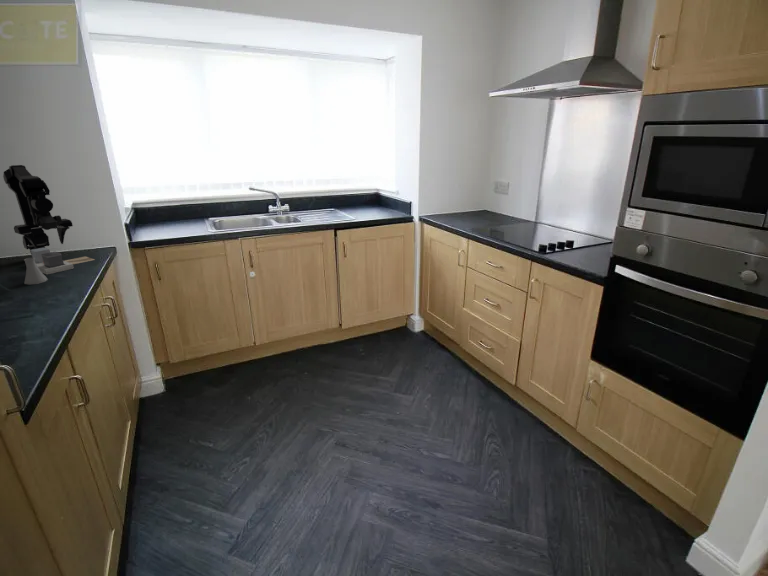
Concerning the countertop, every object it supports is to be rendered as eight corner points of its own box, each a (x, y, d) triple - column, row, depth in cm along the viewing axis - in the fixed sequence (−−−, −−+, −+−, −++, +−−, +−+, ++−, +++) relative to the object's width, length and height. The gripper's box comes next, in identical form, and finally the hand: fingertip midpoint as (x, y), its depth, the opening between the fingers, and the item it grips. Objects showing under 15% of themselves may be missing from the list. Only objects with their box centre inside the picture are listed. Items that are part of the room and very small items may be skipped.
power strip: (22, 264, 189) (20, 257, 188) (48, 259, 197) (46, 252, 196) (47, 275, 175) (44, 268, 174) (74, 269, 183) (72, 262, 182)
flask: (38, 286, 163) (31, 261, 160) (20, 285, 164) (12, 261, 160) (52, 279, 170) (45, 256, 167) (35, 279, 170) (27, 256, 167)
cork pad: (63, 261, 194) (63, 260, 194) (85, 257, 201) (85, 256, 201) (73, 265, 189) (73, 264, 188) (95, 260, 196) (95, 259, 195)
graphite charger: (45, 269, 181) (41, 254, 179) (59, 266, 185) (55, 251, 183) (51, 272, 178) (47, 256, 176) (65, 269, 182) (61, 253, 179)
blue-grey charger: (34, 265, 187) (30, 249, 185) (48, 262, 191) (43, 247, 189) (40, 267, 184) (35, 251, 182) (53, 264, 188) (49, 249, 186)
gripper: (19, 215, 161) (30, 254, 167) (73, 208, 176) (83, 244, 181) (8, 211, 167) (19, 249, 172) (62, 205, 182) (71, 240, 187)
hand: (49, 246), depth 178 cm, fingers open, 9 cm apart
